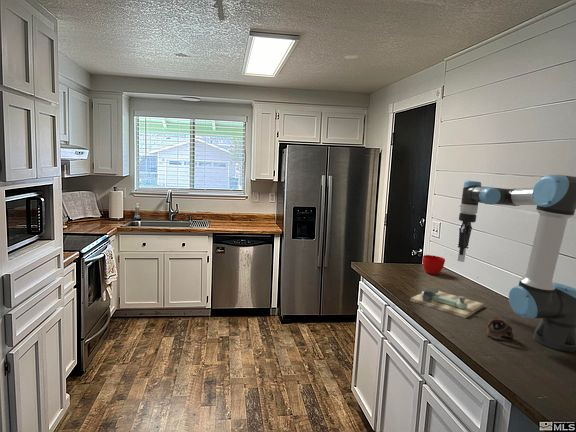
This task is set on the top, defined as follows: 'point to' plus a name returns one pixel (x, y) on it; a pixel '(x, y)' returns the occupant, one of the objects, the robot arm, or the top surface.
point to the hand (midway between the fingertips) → (460, 261)
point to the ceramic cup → (433, 264)
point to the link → (448, 301)
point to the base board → (464, 313)
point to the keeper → (429, 294)
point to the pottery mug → (499, 328)
